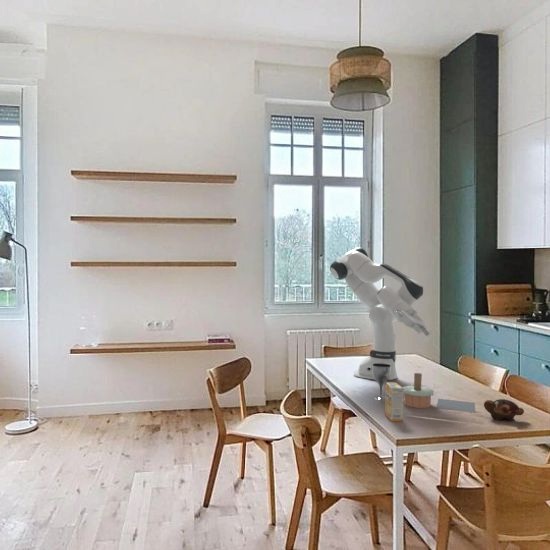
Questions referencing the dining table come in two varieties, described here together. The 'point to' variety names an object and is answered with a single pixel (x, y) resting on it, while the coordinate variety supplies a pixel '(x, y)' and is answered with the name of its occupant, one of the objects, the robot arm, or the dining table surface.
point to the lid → (418, 388)
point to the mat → (456, 405)
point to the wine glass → (381, 376)
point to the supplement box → (394, 401)
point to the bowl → (417, 401)
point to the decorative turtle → (503, 409)
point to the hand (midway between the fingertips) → (425, 334)
